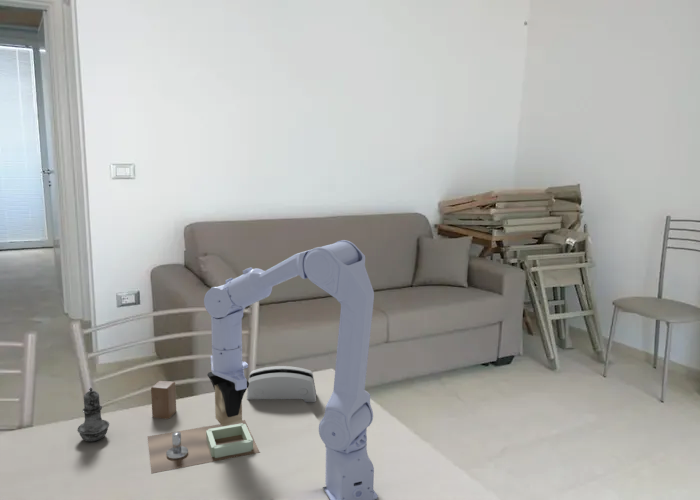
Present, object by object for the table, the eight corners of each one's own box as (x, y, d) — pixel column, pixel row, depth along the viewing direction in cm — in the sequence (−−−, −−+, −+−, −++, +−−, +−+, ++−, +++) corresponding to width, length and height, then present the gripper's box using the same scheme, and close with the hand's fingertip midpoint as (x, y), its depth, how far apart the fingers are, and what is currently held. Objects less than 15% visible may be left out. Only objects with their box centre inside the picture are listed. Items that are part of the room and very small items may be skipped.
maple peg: (242, 421, 110) (241, 388, 109) (222, 426, 108) (221, 392, 107) (234, 413, 113) (234, 380, 112) (215, 418, 111) (214, 385, 110)
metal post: (189, 457, 107) (188, 436, 106) (167, 461, 105) (166, 440, 105) (186, 447, 110) (186, 427, 110) (165, 450, 109) (164, 430, 108)
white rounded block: (316, 392, 138) (316, 361, 133) (316, 407, 134) (316, 375, 129) (248, 393, 137) (245, 362, 132) (246, 407, 133) (243, 376, 128)
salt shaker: (75, 452, 110) (71, 395, 108) (81, 437, 115) (77, 382, 113) (108, 448, 111) (104, 392, 109) (112, 434, 117) (108, 380, 115)
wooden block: (151, 421, 122) (150, 387, 121) (160, 413, 126) (159, 379, 125) (169, 423, 122) (167, 388, 120) (177, 414, 126) (175, 381, 124)
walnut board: (259, 457, 109) (259, 452, 109) (151, 478, 102) (151, 473, 101) (244, 424, 122) (244, 420, 122) (147, 440, 114) (147, 436, 114)
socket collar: (253, 450, 110) (253, 441, 109) (212, 458, 106) (211, 449, 106) (245, 431, 117) (244, 422, 116) (206, 438, 114) (205, 429, 113)
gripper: (261, 353, 104) (262, 420, 106) (233, 331, 116) (234, 392, 118) (225, 360, 100) (226, 430, 103) (199, 336, 112) (201, 400, 115)
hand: (228, 410), depth 110 cm, fingers closed on maple peg, 4 cm apart
